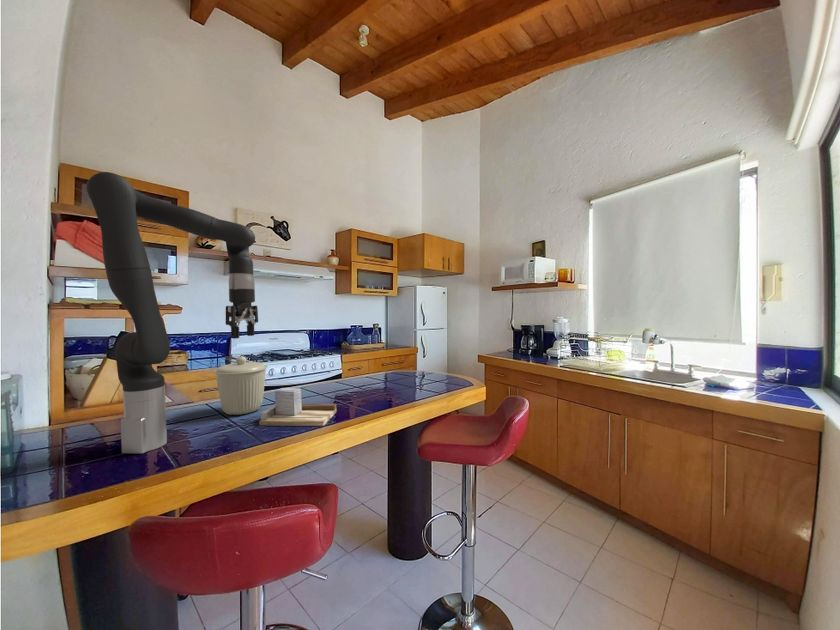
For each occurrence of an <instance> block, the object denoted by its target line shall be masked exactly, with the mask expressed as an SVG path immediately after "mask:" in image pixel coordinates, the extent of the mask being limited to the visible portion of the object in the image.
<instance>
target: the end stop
mask: <svg viewBox="0 0 840 630" xmlns="http://www.w3.org/2000/svg"><path fill="white" fill-rule="evenodd" d="M275 414H276V405H275V403H274V404H272V405H270V407H268V408H266V409H264V410H263V411H261V412H260V420H267V419H269V418H270V417H272V416H273V415H275Z"/></svg>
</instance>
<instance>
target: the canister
mask: <svg viewBox="0 0 840 630" xmlns="http://www.w3.org/2000/svg"><path fill="white" fill-rule="evenodd" d="M267 369H268V366H267V364H264V363H262V362H258V361H257V362H256V361H247V358H246V357H245V356H238V357H237V358H235V363H229V364H223V365H221V366H219V367H218V368H216V369H214V371H213V373H214V374H215V377H216V383H217V391H218V395H219V400H220V402H219V403H220V405H221V406H220V407H221V409H222V411H223V413H225V414H227V415H229V416H232V415H233V416H239V415H247V414H251V413H254V412H255V411H258V410H260V408H261V407H262V405H263V403H264V402H263V401H264V391H265V383H266V382H265V381H266V370H267Z"/></svg>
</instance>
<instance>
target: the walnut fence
mask: <svg viewBox="0 0 840 630" xmlns="http://www.w3.org/2000/svg"><path fill="white" fill-rule="evenodd" d="M301 405H302V410H335V409H336V410H337V403H301Z"/></svg>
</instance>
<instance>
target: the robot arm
mask: <svg viewBox="0 0 840 630" xmlns="http://www.w3.org/2000/svg"><path fill="white" fill-rule="evenodd" d="M85 187H86V188H85V189H86V193H87V195H88V197H89V199H90V201H91V204H92V206H93V209H94V212H95V214H96V217H97V220H98V223H99V227H100V231H101V243H102V244H101V245H102V255H103V263H104V265H103V266H104V269H105V273H106V277H107V281H108V285H109V288H110V290H111V292H112V294H113V296H115V297H116V299H117V300H118V301H119V302H120V304H121V305H122V306H123V307H124V308H125V310H126V311H127V312H128V314H129V315H130V317H131V319H132V321H133V325H134V328H135V329H134V330H135V331H132V332H127V333H125V334H123V335H122V336H121V337H119V339H118V341H117V344H116V347H115V361H116V370H117V377H118V380H119V382H120V384H121V387H122V399H123V401H122V403H123V404H122V405H123V417H122V418H121V419H120V439H121V440H120V442H121V443H120V444H121V454H144V453H146V452H149V451H150V452H151V451H153V450H156V449H160V448H161V447H163V446H165V445H166V444H167V442H168V439H167V437H168V436H167V434H168V433H167V414H166V413H167V412H166V388H165V387H166V386H165V384H166V383H165V377H164V375H163V374H161V373H160V372H158V371H156V370H155V369H154V367H153V365H158V364H161V363H163V362H165V361H166V360H167V358H168V357H169V355H170V352H171V343H170V338H169V335H168V331H167V329H166V327H165V323H164V320H163V318H162V314H161V311H160V307H159V303H158V299H157V295H156V290H155V285H154V279H153V274H152V270H151V266H150V265H151V264H150V261H149V257H148V254H147V251H146V248H145V244H144V242H143V239H142V237H141V234H140V230H139V226H138V219H137V218H141V219H144V220H149V221H153V222H156V223H159V224H163V225H166V226H169V227H170V228H171V227H172V228H174V229H177V230H180V231H183V232H185V233H189V234H191V235H195V236H198V237H201V238H205V239H208V240H211V241H215V240H216V241H222V242H225V247H226V252H227V257H228V272H229V273H228V274H229V275H228V276H229V277H228V301H229V302H230V303H232V305H226V306H225V325H226V326H229V327H230V334H231V339H234V340H235V339H240V323H241V322H242V321H245V323H246V336H248V337H252V336H253V337H254V336H255V325H256V323H259V312H258V305H252V303H255V302H256V290H255V289H256V287H255V277H254V262H253V261H254V260H253V259H252V257H250V256H251V255H250V247H251V246H253V245H254V243H255V241H256V235H255V233H254V232H253V230H252V229H251V228H249V227H248V226H245V225H243V224H241V223H236V222H234V221H228V220H225V219H224V220H223V219H219V218H217V217H214V216H212V215H210V214H208V213H204V212H202V211H198V210H196V209H191V208H189V207H184V206H181V205H177V204H173V203H170V202H166V201H163V200H160V199H156V198H153V197H151V196H149V195H146V194H144V193H142V192H140V191H137V190H136V189H134V187H133V185H131V183H130V182H129V181H128V180H127V179H126V178H124V177H122V176H121V175H119V174H117V173H114V172H109V171H101V172H98V173H95V174H94V175H91V176H90V178H89V179H88V180H87V182H86V185H85Z"/></svg>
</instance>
